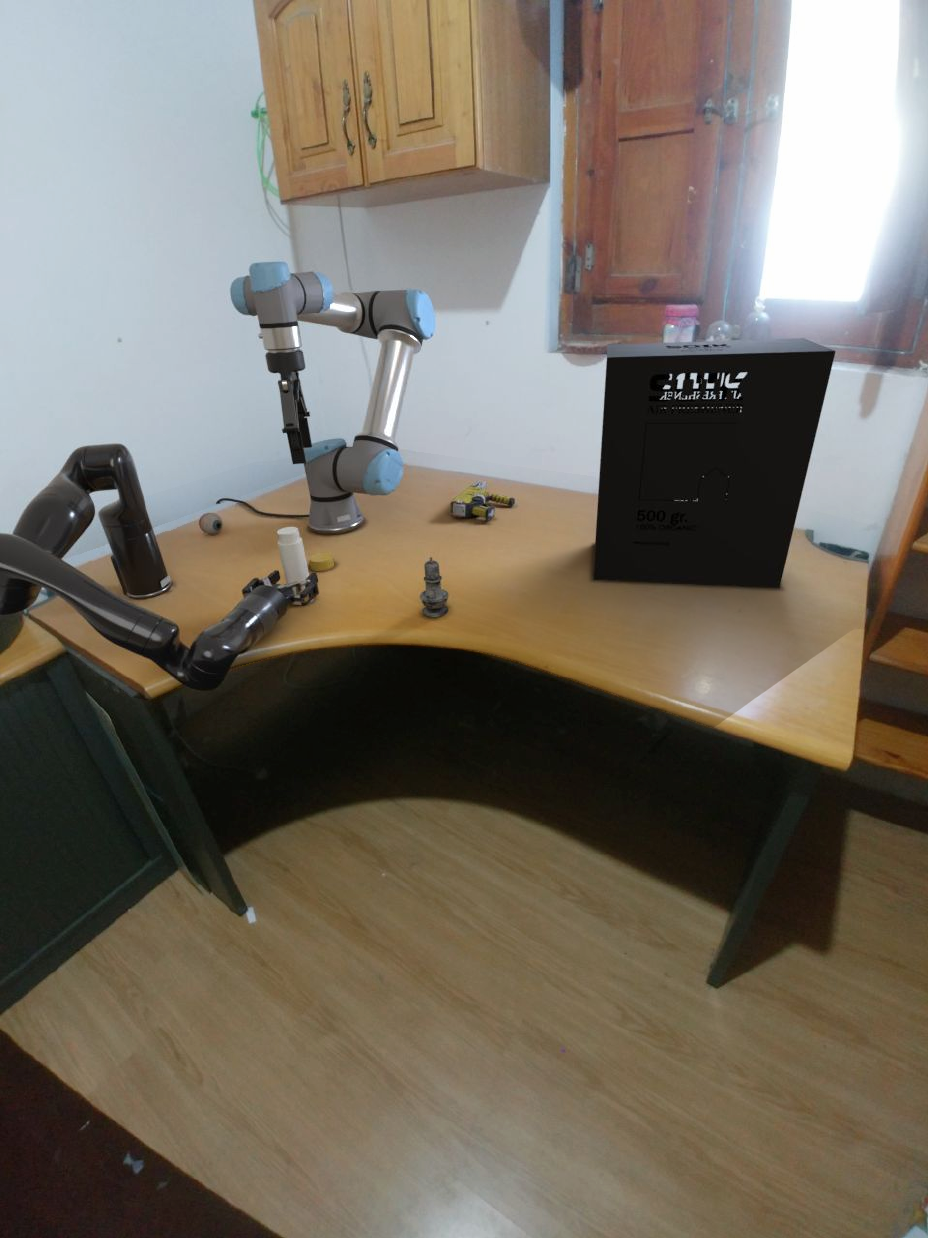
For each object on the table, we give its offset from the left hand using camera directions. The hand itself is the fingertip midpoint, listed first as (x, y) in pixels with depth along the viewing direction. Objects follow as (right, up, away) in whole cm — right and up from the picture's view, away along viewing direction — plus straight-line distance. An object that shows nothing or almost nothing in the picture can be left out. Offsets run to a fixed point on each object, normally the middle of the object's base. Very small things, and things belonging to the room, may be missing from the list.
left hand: (296, 575), depth 127 cm
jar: (0, -5, +4) cm, 6 cm away
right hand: (0, +27, +5) cm, 27 cm away
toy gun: (+42, +23, +48) cm, 68 cm away
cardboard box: (+84, +3, +9) cm, 85 cm away
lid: (+1, +5, +17) cm, 18 cm away
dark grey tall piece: (+30, -8, -4) cm, 31 cm away
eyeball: (-34, +14, +41) cm, 55 cm away
